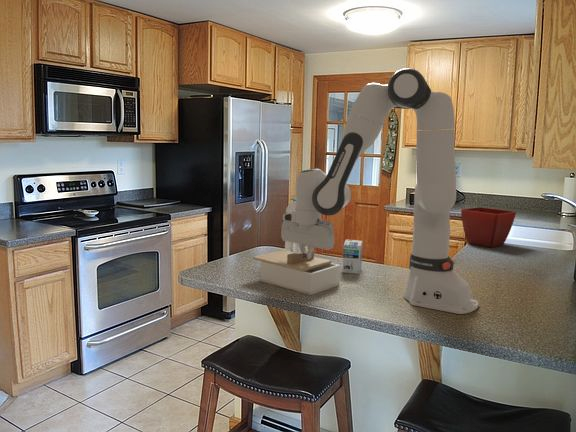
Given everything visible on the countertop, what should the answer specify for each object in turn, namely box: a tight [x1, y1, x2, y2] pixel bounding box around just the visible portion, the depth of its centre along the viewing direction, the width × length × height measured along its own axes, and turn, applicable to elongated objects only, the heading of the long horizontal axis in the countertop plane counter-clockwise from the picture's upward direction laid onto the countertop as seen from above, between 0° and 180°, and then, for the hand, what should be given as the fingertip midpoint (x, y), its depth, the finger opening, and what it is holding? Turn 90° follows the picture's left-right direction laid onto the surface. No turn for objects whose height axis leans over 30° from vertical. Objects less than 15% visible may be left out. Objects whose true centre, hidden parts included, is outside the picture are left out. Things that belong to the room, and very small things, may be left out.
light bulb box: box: [341, 238, 364, 275], centre depth 190 cm, size 11×7×11 cm, turn 168°
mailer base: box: [259, 261, 341, 296], centre depth 171 cm, size 22×16×7 cm
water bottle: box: [284, 197, 301, 253], centre depth 203 cm, size 7×7×25 cm
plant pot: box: [460, 207, 517, 248], centre depth 245 cm, size 19×19×17 cm
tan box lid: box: [252, 248, 332, 271], centre depth 173 cm, size 22×16×4 cm
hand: (306, 258), depth 169 cm, fingers closed
